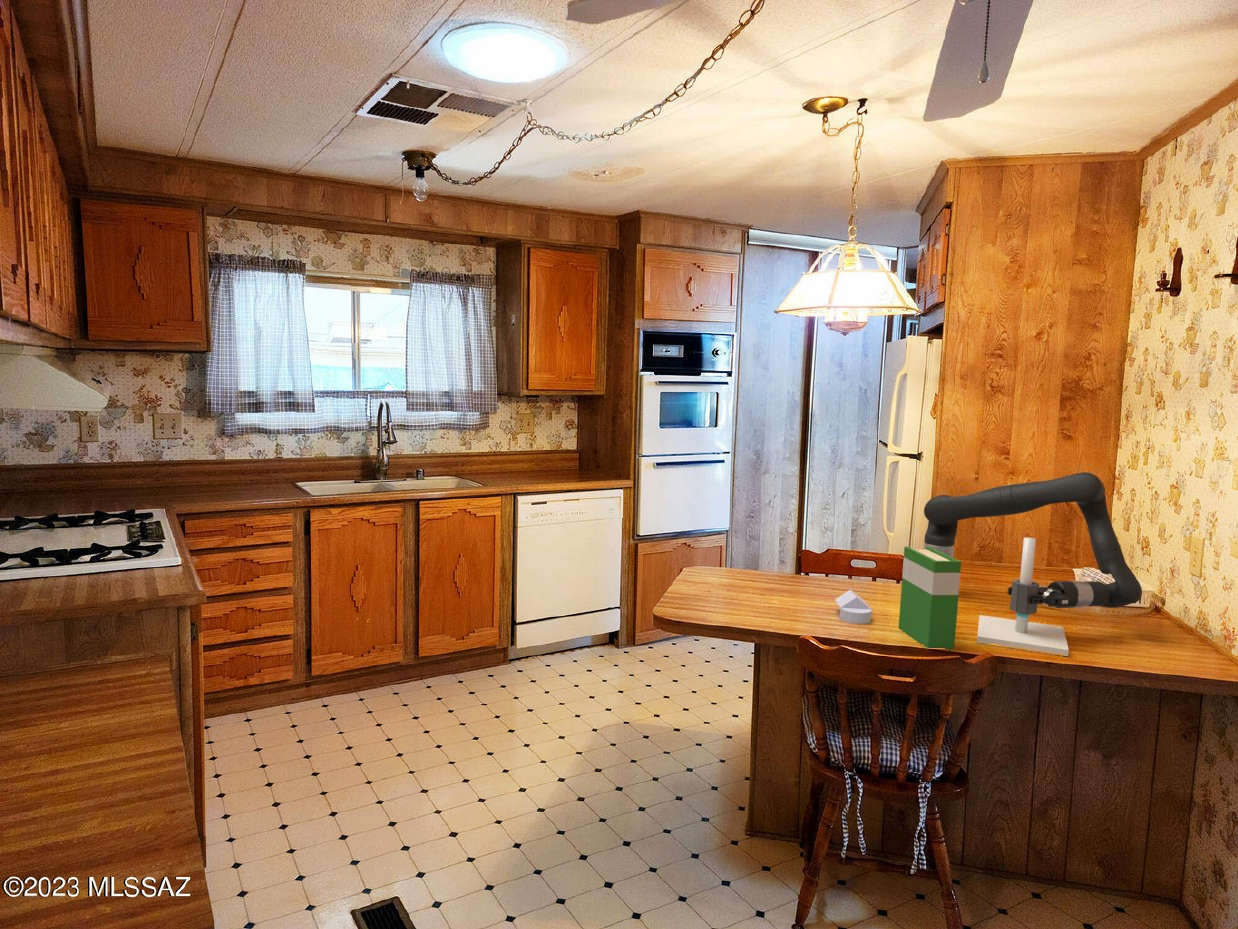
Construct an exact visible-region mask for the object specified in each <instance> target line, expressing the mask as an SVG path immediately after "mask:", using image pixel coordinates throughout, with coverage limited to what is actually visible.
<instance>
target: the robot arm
mask: <svg viewBox="0 0 1238 929" xmlns="http://www.w3.org/2000/svg"><path fill="white" fill-rule="evenodd" d="M1106 497H1107V496H1106V488H1105V485H1104V483H1103V482H1102V480H1101V479H1100V478H1099V477H1098V476H1097V475H1096V474H1094V473H1091V472H1087V471H1086V472H1078V473H1077V472H1076V473H1072V474H1069V475H1065V476H1061V477H1058V478H1057V477H1056V478H1053V479H1048V480H1042V481H1041V480H1040V481H1030V482H1021V483H1014V484H1013V483H1012V484H1008V485H1007V484H1006V485H1002V486H1001V485H1000V486H996V487H991V488H987V489H984V490H981V491H978V492H975V493H971V494H965V495H960V496H952V495H948V494H940V495H936V496H934V497H932V498H930V499H929V500H928V501H927V502H926V503H925V505H924V508H923V514H924V517H925V519H927V522H928V523H927V529H926V531H925V534H924V541H923V542H924V544H923V549H926V547H931V548H933V549H935V550H937V551H940V552H942V553H944V554H946V555H948V556H950V557H952V558H954V552H955V541H956V538H957V533H958V526H959V525H958V523H959V521H961V520H966V519H967V520H968V519H974V518H991V517H993V518H994V517H1002V516H1010V515H1011V516H1012V515H1020V514H1024V513H1028V512H1031V511H1034V510H1037V509H1040V508H1042V507H1045V506H1049V505H1052V504H1062V503H1064V504H1065V503H1076V504H1077V506H1078V508H1079V509H1080V510H1079V511H1080V512H1081V513H1082V516H1083V518H1084V520H1085V523H1086V526H1087V529H1088V535H1089V539H1090V540H1089V541H1090V545H1091V548H1092V552H1093V555H1094V558H1095V560H1096V564H1097V567H1098V569H1099V571H1100V573H1102V574H1104V575H1111V577H1112V578H1113V580H1114V581H1113V582H1110V583H1104V582H1101V581H1094V580H1092V581H1091V580H1089V581H1081V580H1055V581H1052V582H1050V584H1049V585H1048V586H1046V585H1039V592H1038V595H1029V596H1028V601H1027V602H1028V603H1029V604H1037V605H1043V606H1046V605H1047V606H1048V607H1051V608H1056V609H1075V608H1076V609H1077V608H1084V607H1100V608H1111V609H1115V608H1121V607H1125V606H1128V605H1132V604H1135V603H1137V602H1139V601H1140V600H1141V599H1142V596H1143V590H1142V586H1141V583H1140V581H1139V580H1138V579H1137V577H1136V576H1135V574H1134V572H1133V570H1131V568H1130V567H1129V566H1128V564H1127V563H1126V559H1125V557H1124V553H1123V551H1122V547H1121V544H1120V542H1119V539H1118V538H1117V535H1116V532H1115V529H1114V528H1113V524H1112V522H1111V519H1110V514H1109V511H1108V504H1107V500H1106V499H1107V498H1106ZM1011 592H1012V586H1009V587H1008V588H1007V595H1009V596H1011Z"/></svg>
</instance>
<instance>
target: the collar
mask: <svg viewBox="0 0 1238 929" xmlns="http://www.w3.org/2000/svg"><path fill="white" fill-rule="evenodd" d="M1039 586H1040V583H1038V582H1036V581H1033V580H1032V585H1027V584H1021V583H1020V579H1014V580H1012V583H1011V587H1012V592H1011V595H1010V604H1009V610H1010V611H1012V612H1014V613H1016V612H1017V613H1022V614H1030V615H1036V614H1037V610H1038V604H1029V603H1028V602H1027V601H1028V596H1029V595H1038V592H1039Z"/></svg>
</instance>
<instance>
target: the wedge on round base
mask: <svg viewBox="0 0 1238 929" xmlns="http://www.w3.org/2000/svg"><path fill="white" fill-rule="evenodd" d="M834 600H835V602H836V604H837V605H838V607H839V620H841V621H842V622H846V623H849V624H853V623H855V624H854V625H867V624H870V623H871V622H872V608H871V607H870V606H869V605H868V604H867V601H866V600H864V599H863V598H862V597H860V596H859V595H858V594H857V593H855V592H854V591H853V590H852V589H849V590H848V591H846V592H844V593H843V594H841V595H840V596H838V597H837V598H835V599H834ZM856 623H857V624H856ZM866 623H867V624H866Z"/></svg>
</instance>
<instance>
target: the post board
mask: <svg viewBox="0 0 1238 929" xmlns="http://www.w3.org/2000/svg"><path fill="white" fill-rule="evenodd" d="M1036 542H1037V539H1036V538H1035V537H1023V541H1022V553H1021V554H1022V555H1021V565H1020V575H1019V580H1020V583H1021V584H1027V585H1032V581H1033V575H1034V574H1033V573H1034V565H1035V564H1034V562H1035V553H1036ZM978 615H979V618H978V625H977V626H978V628H977V637H976V644H978V643H984V644H983V645H985V644H996V645H1002V646H1008V647H1015V648H1024V649H1029V650H1034V651H1041V652H1047V653H1051V654H1061V655H1064V656H1068V657H1069V646H1068V642H1067V638H1066V633H1065V629H1064V626H1060V625H1059V626H1058V625H1052V624H1045V623H1039V622H1031V621H1029V618H1030V615H1031V614H1022V613H1017V612H1015V616H1016V618H1015V619H1010V618H1005V617H1004V618H1002V617H998V616H997V617H996V616H990V615H989V616H988V615H981V614H978Z"/></svg>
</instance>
